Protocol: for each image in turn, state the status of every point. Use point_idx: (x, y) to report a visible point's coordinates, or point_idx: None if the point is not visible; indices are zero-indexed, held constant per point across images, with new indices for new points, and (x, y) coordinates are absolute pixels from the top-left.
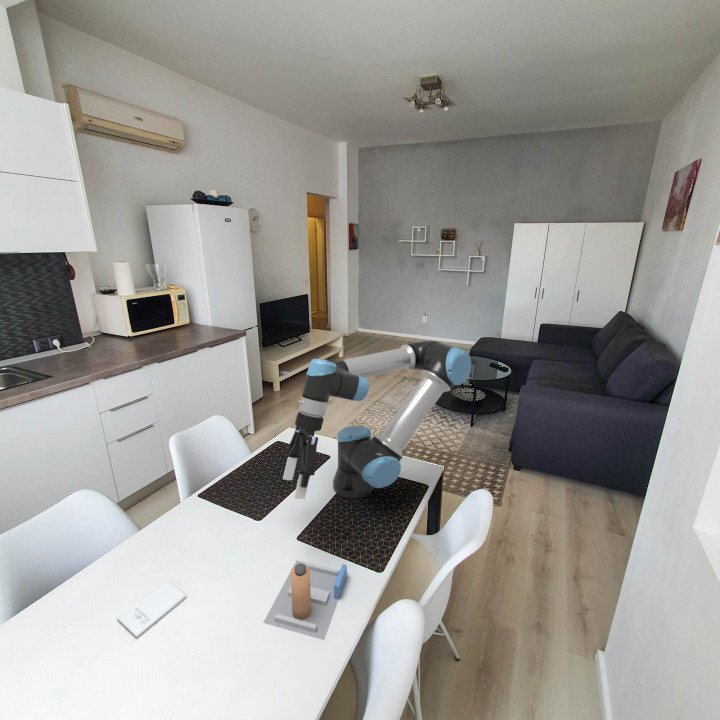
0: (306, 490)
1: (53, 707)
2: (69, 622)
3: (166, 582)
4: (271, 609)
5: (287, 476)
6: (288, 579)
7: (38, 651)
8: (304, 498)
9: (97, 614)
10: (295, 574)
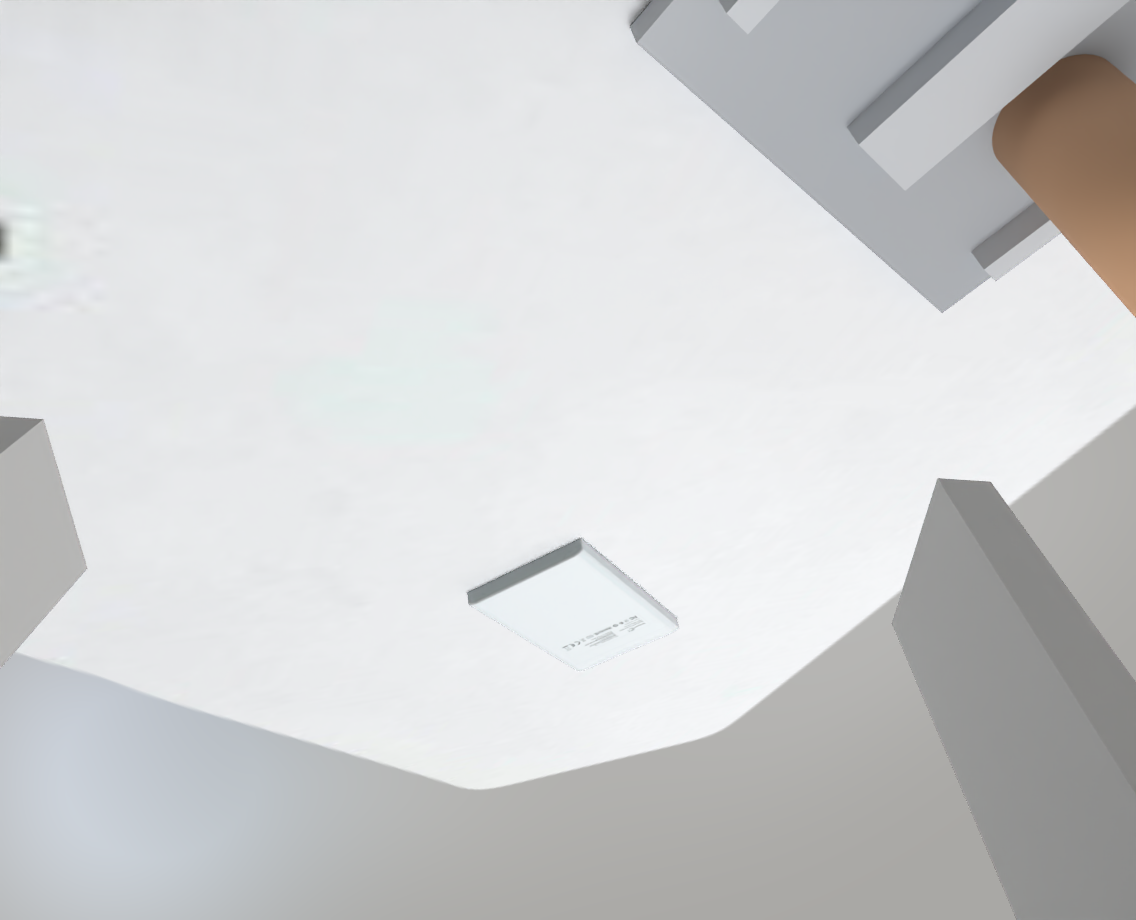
0: (1066, 589)
1: (761, 691)
2: (520, 728)
3: (480, 606)
4: (904, 269)
5: (36, 554)
6: (775, 144)
7: (584, 742)
8: (992, 491)
9: (522, 696)
10: None
